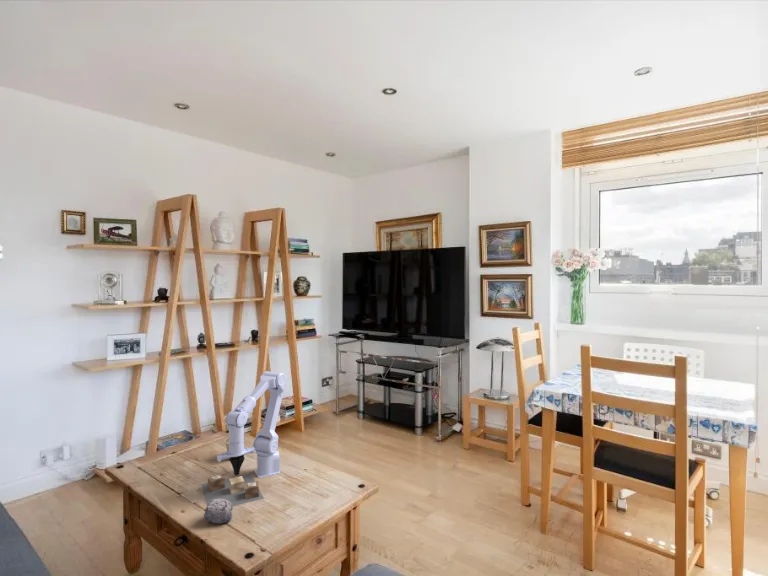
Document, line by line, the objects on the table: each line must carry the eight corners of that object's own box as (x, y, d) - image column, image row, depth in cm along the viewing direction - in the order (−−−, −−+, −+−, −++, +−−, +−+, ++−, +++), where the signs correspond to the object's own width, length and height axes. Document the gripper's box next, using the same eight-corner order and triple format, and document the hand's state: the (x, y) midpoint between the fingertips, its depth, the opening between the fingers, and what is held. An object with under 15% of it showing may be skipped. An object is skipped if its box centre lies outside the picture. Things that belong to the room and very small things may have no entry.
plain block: (241, 485, 173) (241, 476, 173) (244, 490, 169) (244, 481, 169) (229, 488, 171) (229, 478, 171) (231, 494, 166) (231, 484, 166)
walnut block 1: (219, 483, 175) (219, 473, 175) (224, 487, 172) (224, 477, 171) (207, 487, 172) (207, 477, 172) (212, 491, 168) (212, 481, 168)
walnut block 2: (258, 490, 169) (258, 480, 169) (258, 496, 164) (258, 486, 164) (245, 492, 167) (245, 482, 167) (245, 499, 163) (245, 488, 163)
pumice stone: (238, 523, 151) (220, 508, 156) (242, 504, 150) (225, 489, 155) (213, 537, 143) (196, 521, 147) (218, 517, 141) (200, 501, 146)
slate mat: (250, 474, 184) (250, 473, 184) (263, 499, 163) (263, 498, 163) (201, 485, 174) (201, 484, 174) (208, 513, 154) (208, 512, 154)
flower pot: (241, 462, 196) (241, 443, 196) (221, 461, 196) (221, 443, 196) (248, 453, 206) (247, 436, 205) (228, 453, 206) (228, 436, 206)
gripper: (251, 434, 177) (251, 466, 177) (215, 441, 168) (215, 475, 169) (256, 439, 171) (256, 472, 171) (219, 447, 163) (219, 482, 163)
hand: (236, 474), depth 170 cm, fingers closed
